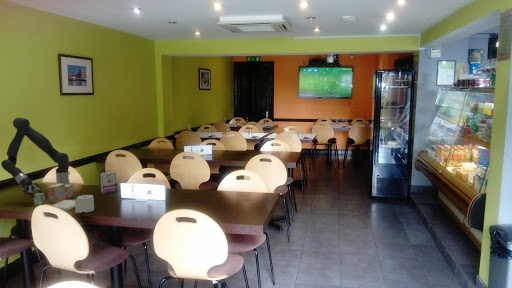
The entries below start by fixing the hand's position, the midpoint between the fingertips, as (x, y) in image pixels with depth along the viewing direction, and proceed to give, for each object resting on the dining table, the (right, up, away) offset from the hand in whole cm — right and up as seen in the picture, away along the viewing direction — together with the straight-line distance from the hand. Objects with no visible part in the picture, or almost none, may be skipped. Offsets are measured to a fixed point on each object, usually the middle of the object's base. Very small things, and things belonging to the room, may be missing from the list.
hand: (38, 195), depth 311 cm
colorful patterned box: (+10, -5, +16) cm, 19 cm away
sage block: (+1, -6, +1) cm, 7 cm away
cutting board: (+22, -7, -3) cm, 24 cm away
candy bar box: (+39, -2, +37) cm, 54 cm away
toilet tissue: (+42, -9, -17) cm, 46 cm away
